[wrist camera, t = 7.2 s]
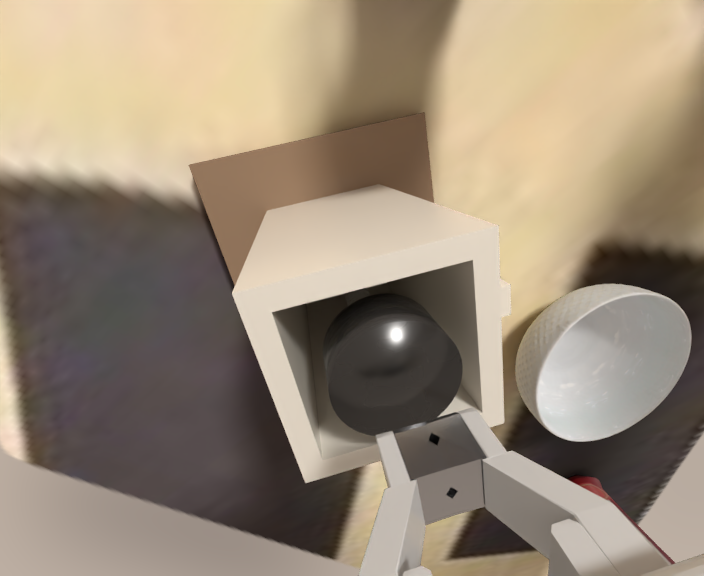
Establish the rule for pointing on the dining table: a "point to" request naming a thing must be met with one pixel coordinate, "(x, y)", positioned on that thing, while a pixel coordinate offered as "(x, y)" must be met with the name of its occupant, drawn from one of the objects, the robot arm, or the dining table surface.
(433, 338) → the dark-topped thin piece
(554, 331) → the cereal bowl
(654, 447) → the dining table surface
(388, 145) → the hollow square stand
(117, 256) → the dining table surface
